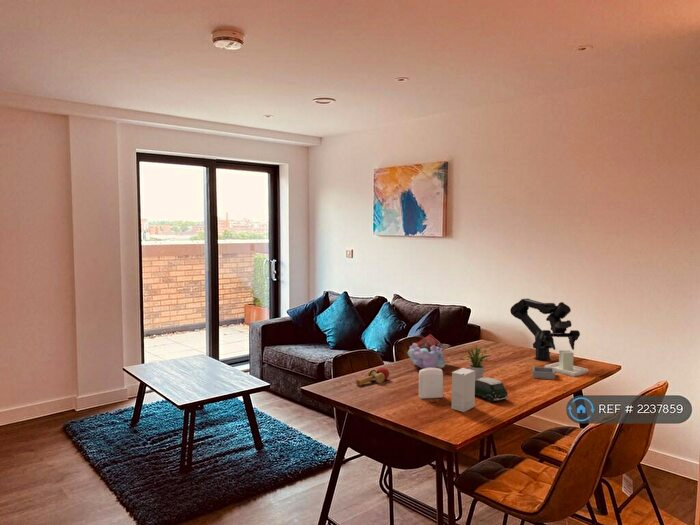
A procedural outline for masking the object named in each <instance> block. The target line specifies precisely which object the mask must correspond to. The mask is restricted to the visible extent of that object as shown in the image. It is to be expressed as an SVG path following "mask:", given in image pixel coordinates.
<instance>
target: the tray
mask: <svg viewBox="0 0 700 525" xmlns="http://www.w3.org/2000/svg"><path fill="white" fill-rule="evenodd" d="M543 367H544V368H554V372H555V373H558V374H561V375H565V376H569V377H573V378H575V377H579V376H581V375H585V374H589V369H588V368H584V367H581V366H577V365H573V371H567V370H563V369H559V361H558V362H553V363H549V364H546V365H544V366H543Z"/></svg>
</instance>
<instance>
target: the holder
mask: <svg viewBox="0 0 700 525" xmlns="http://www.w3.org/2000/svg"><path fill="white" fill-rule="evenodd" d="M555 374H556V372H554V368H544V366H541V367H540V366H532V379H540V380H541V379H542V380H543V379H544V380H554V381H555V380H556V378H555V377H556V376H555Z"/></svg>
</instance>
